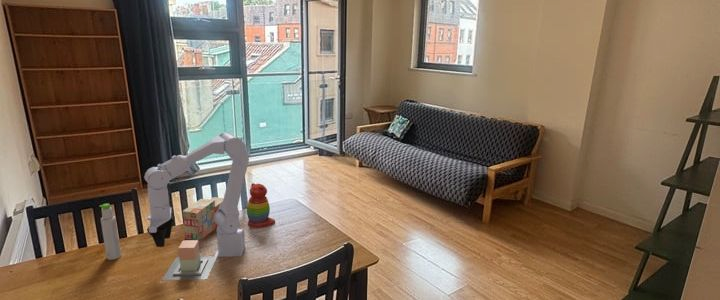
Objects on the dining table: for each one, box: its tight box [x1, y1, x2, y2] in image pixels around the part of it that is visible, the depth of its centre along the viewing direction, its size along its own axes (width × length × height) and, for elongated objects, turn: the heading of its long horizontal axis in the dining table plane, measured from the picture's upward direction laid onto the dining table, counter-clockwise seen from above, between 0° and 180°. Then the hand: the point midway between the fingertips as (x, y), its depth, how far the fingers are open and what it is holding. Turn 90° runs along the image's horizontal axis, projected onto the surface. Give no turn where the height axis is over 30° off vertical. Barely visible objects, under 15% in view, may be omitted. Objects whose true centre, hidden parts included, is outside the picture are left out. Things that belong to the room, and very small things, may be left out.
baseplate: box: [161, 255, 218, 281], centre depth 137 cm, size 14×14×1 cm
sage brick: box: [180, 251, 201, 272], centre depth 137 cm, size 5×5×4 cm
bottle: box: [99, 203, 122, 261], centre depth 140 cm, size 4×4×20 cm
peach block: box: [177, 239, 200, 260], centre depth 135 cm, size 5×5×4 cm
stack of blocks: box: [182, 196, 224, 241], centre depth 164 cm, size 21×6×12 cm, turn 168°
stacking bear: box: [246, 182, 276, 229], centre depth 169 cm, size 11×10×18 cm
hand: (163, 242), depth 134 cm, fingers open, 5 cm apart
